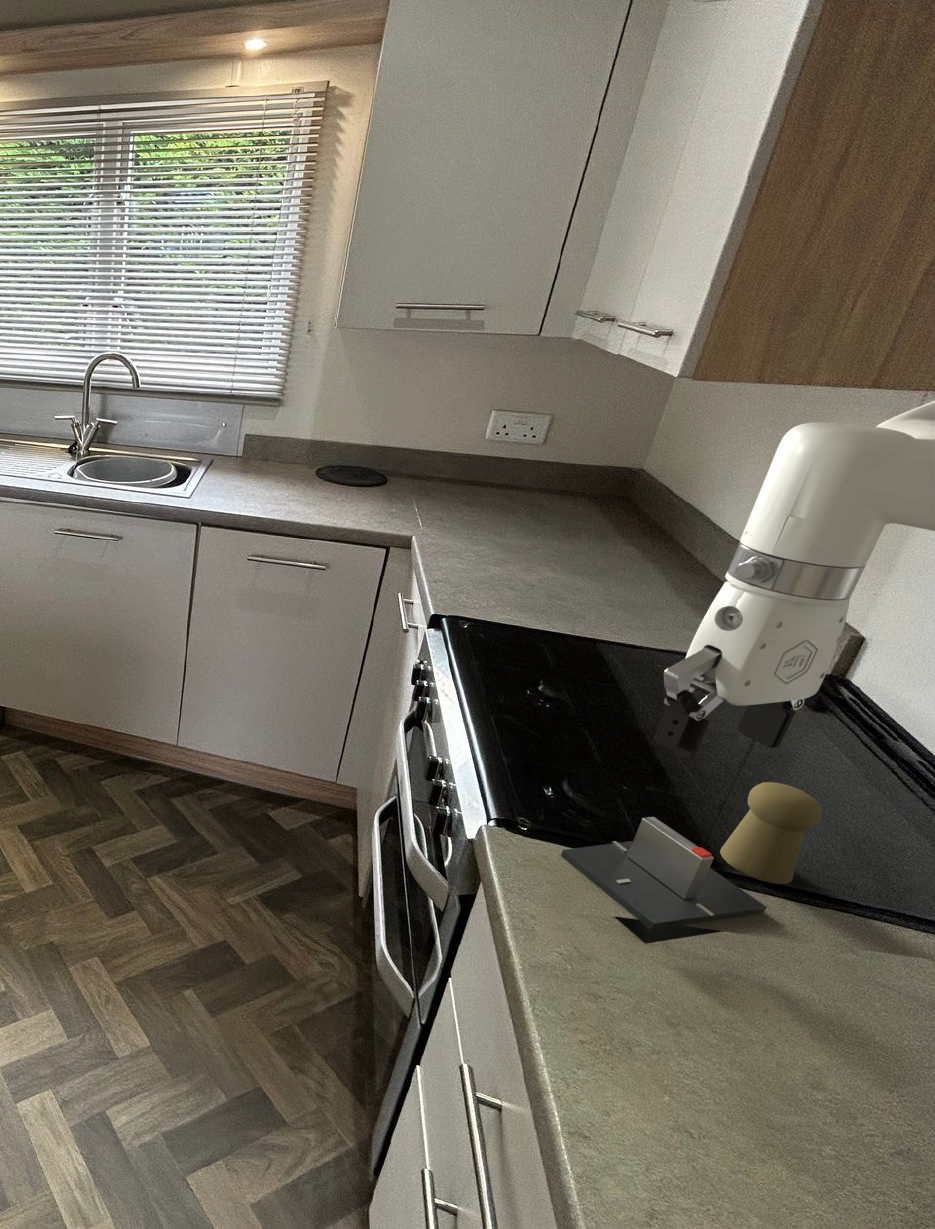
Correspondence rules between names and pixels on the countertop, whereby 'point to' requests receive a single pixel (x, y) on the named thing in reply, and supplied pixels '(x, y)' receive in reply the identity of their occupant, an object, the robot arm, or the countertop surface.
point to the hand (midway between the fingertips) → (715, 744)
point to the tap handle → (670, 857)
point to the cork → (771, 832)
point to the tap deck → (659, 895)
